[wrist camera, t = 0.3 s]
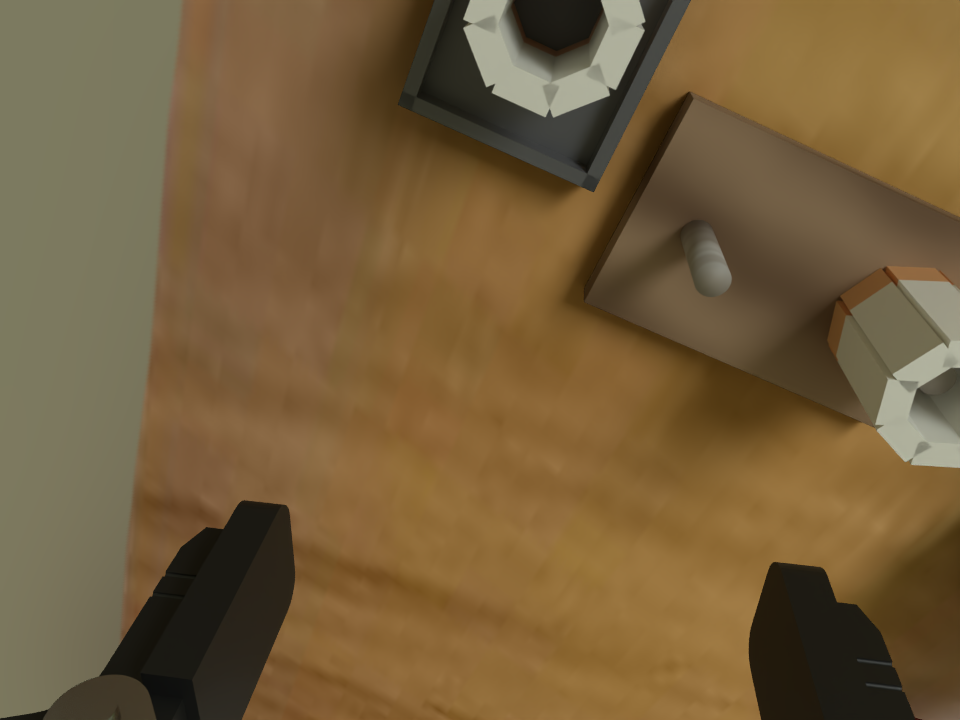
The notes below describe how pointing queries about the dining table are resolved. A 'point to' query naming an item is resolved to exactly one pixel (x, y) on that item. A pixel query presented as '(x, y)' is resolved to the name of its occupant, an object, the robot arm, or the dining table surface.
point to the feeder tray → (512, 128)
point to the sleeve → (552, 56)
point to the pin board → (762, 250)
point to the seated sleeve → (903, 358)
